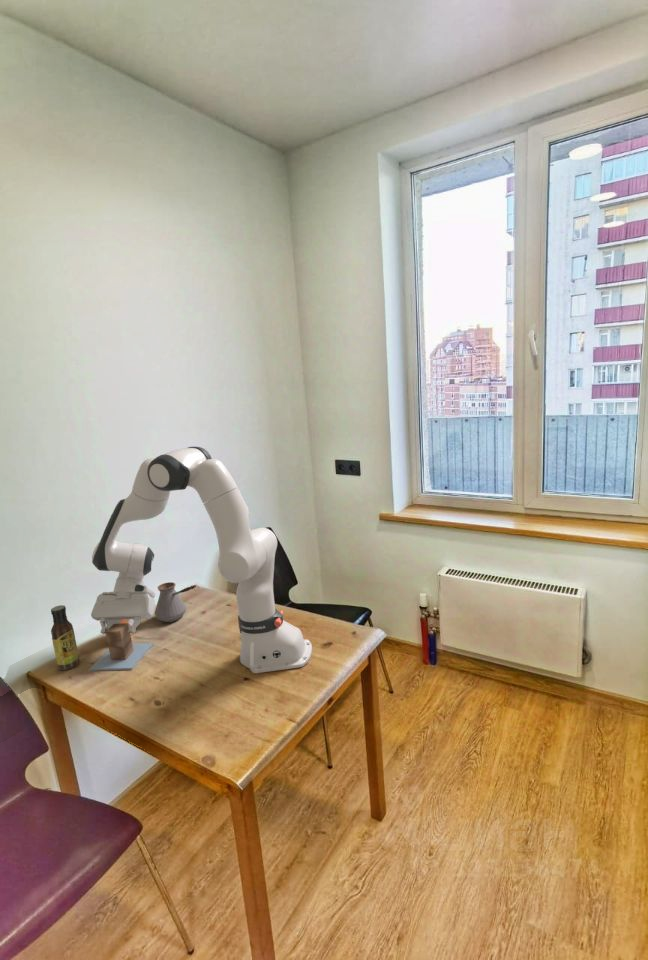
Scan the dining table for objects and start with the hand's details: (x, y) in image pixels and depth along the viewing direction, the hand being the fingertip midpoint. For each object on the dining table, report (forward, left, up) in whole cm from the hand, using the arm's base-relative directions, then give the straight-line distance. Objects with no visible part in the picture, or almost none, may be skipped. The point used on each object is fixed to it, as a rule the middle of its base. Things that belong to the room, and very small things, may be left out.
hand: (117, 632), depth 151 cm
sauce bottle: (+16, +4, -9) cm, 19 cm away
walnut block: (0, 0, -8) cm, 8 cm away
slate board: (0, 0, -9) cm, 9 cm away
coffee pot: (-10, -24, -9) cm, 28 cm away
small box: (+7, -13, -9) cm, 18 cm away
